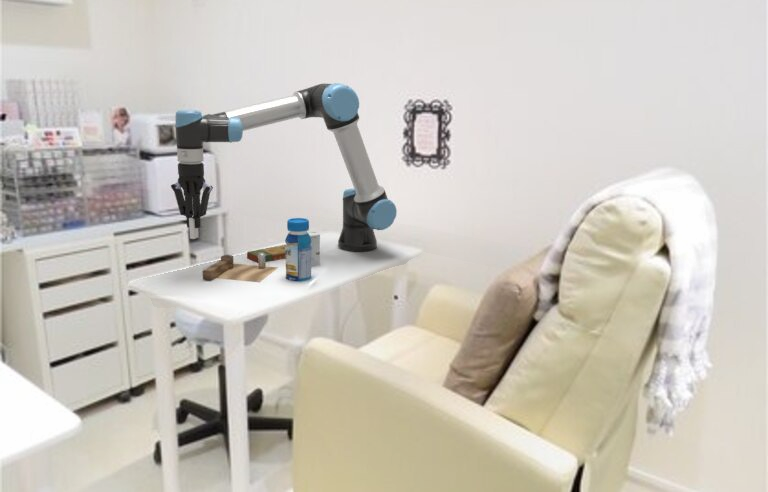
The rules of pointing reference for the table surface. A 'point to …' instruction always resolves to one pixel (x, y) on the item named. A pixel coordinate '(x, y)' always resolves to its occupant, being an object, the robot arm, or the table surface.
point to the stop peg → (261, 261)
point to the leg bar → (218, 267)
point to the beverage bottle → (298, 250)
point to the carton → (268, 254)
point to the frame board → (246, 273)
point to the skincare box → (315, 249)
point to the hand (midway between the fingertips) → (194, 237)
